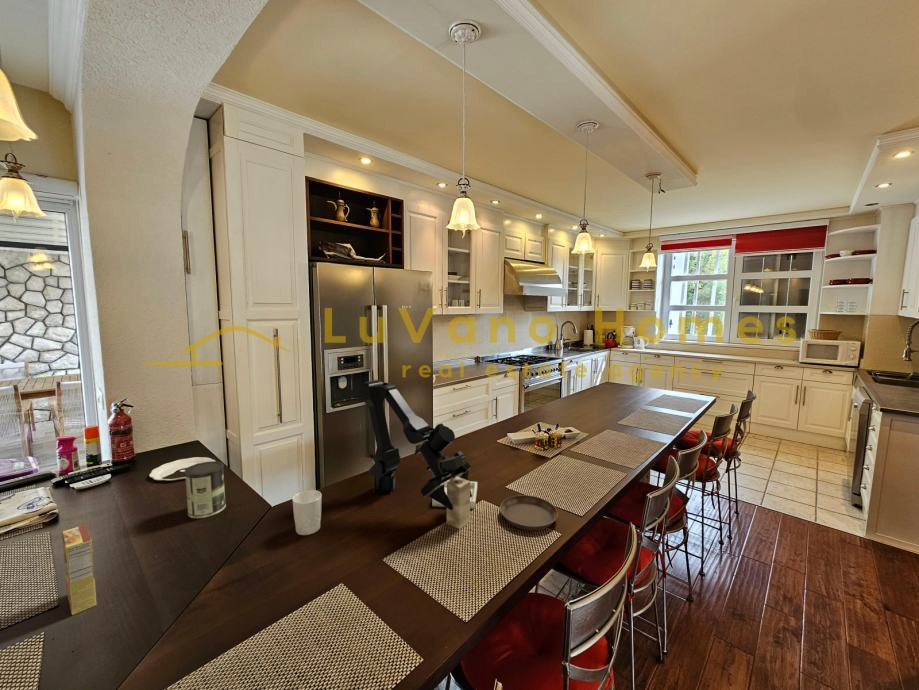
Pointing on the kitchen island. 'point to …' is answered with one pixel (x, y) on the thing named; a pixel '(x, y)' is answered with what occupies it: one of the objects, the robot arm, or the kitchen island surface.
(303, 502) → the white cup
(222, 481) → the coffee can
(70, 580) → the candy box
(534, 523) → the plant saucer
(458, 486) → the maple block
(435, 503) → the tray
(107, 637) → the kitchen island surface
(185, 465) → the plate
